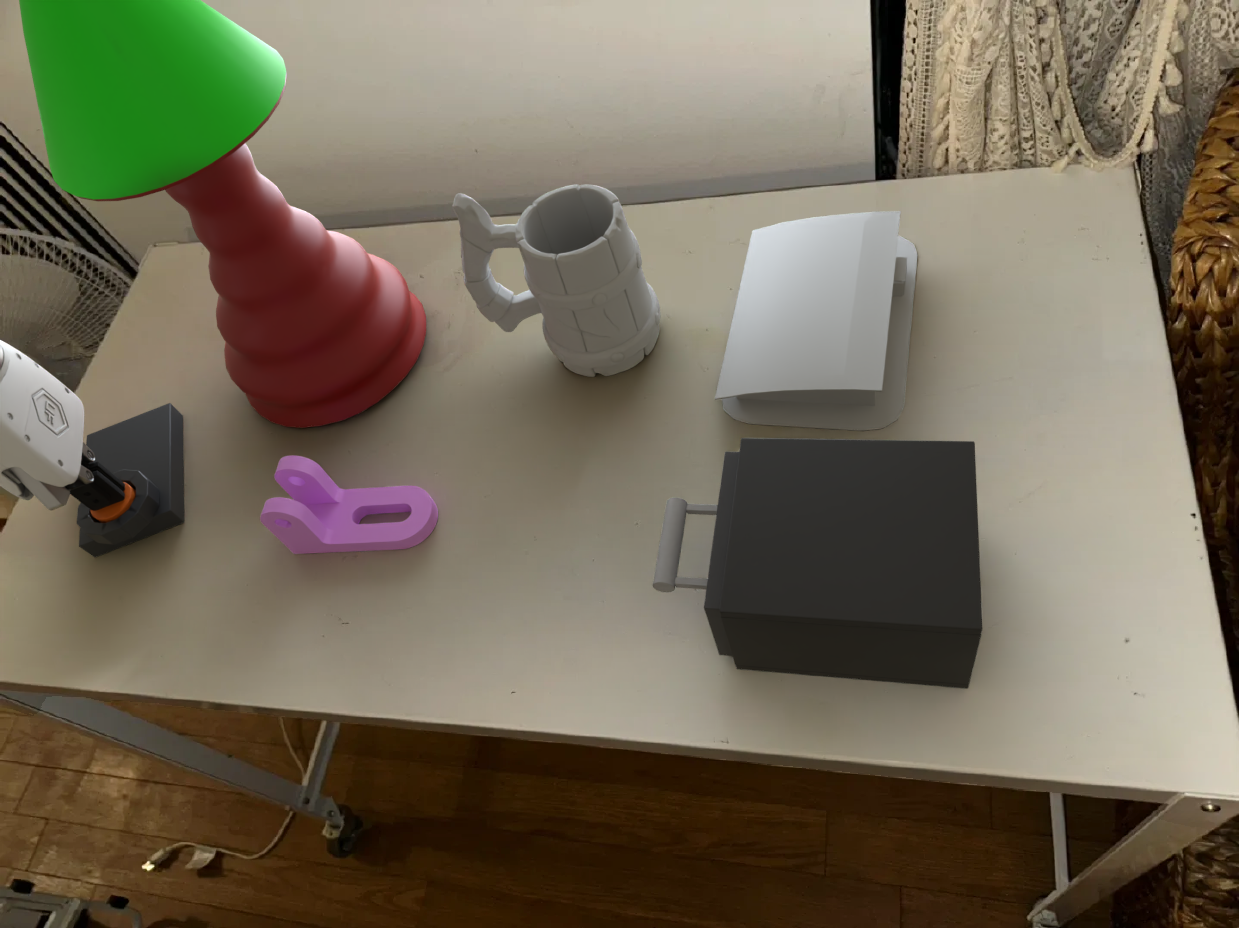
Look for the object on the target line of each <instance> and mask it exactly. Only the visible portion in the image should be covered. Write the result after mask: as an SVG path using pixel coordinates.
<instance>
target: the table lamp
mask: <svg viewBox="0 0 1239 928" xmlns="http://www.w3.org/2000/svg"><path fill="white" fill-rule="evenodd" d="M18 3H19V12H20V17H21V25H22V32H23V33H22V34H23V38H24V42H25V47H26V52H27V57H28V62H29V67H30V73H31V77H32V78H31V79H32V83H33V87H34V88H33V89H34V92H35V98H36V103H37V108H38V113H39V119H40V123H41V129H42V134H43V138H44V144H45V149H46V154H47V159H48V165H49V169H50V173H51V175H52V178H53V181H54V182H55V184H57V186H58V187H59V188H60V189H61V190H62V191H64V192H66V193H68V194H70V195H73V197H77V198H79V199H82V200H87V201H92V202H93V201H94V202H121V201H126V200H132V199H139V198H143V197H146V196H151V195H153V194H156V193H159V192H163V191H165V192H166V193H167V195H169V196H170V197H171V198H172V199H173V200H174V201H175V202H176V203H178V204H179V205H180V206H181V207H182V208H184V209H185V210H186V211H187V213H188V215H189V219H190V222H191V225H192V229H193V231H194V234H195V236H196V238H197V239H198V240H199V242H200V243H201V245H203V247H205V249H206V250H207V252H209V255H208V274H209V280H210V282H211V285H212V286H213V289H214V290H215V292H216V294H217V295H218V297H217V302H216V308H215V318H216V326H217V329H218V331H219V333H220V336H221V337H222V339H223V341H224V342H225V343H224V349H223V353H224V362H225V363H224V364H225V369H226V371H227V373H228V376H229V377H230V380H231V381H232V382H233V383H234V384H235V385H236V386H237V387H238V388H239V390H240V391H241V392H242V393H244V394H245V397H246V398H247V400H248V402H249V405H250V407H252V408H253V409H254V411H255V412H256V413H257V414H258V415H259V416H260V417H262V418H264V419H266V420H267V421H269V422H270V423H273V424H276V425H279V426H283V427H286V428H301V429H304V428H311V427H320V426H327V425H329V424H335V423H338V422H342V421H345V420H347V419H349V418H352V417H354V416H357V415H359V414H362V413H364V412H365V411H366V410H368V409H370V408H372V407H373V406H375V405H376V404H377V403H379V402H380V401H381V400H383V399H384V398H385V397H386V396H387V395H388V394H390V393H391V392H392V391H393V390H394V389H395V388H396V387H397V386H398V385H399V384H400V383H401V382H402V381H403V380H404V379H405V378H406V377H407V376H408V374H409V373H410V371H411V370H412V369H413V368H414V366H415V364H416V363H417V361H418V359H419V357H420V354H421V352H422V350H423V347H424V344H425V340H426V335H427V315H426V311H425V309H424V306H423V304H422V302H421V301H420V299H419V298H418V297H417V296H416V294H414V293H413V292H412V291H411V290H410V288H409V285H408V283H407V281H406V278H405V277H404V276H403V274H402V273H401V271H400V270H399V269H398V268H397V267H396V266H395V265H394V264H393V263H391V262H389V261H388V260H387V259H384V258H382V257H379V256H377V255H375V254H373V253H368V252H367V250H366V249H365V248H364V247H363V245H362V244H361V243H359V241H357V240H355V239H354V238H353V237H351V236H348V235H347V234H344V233H341V232H338V231H335V230H329V229H328V230H327V229H326V228H325V226H324V225H323V223H322V222H321V221H320V220H319V219H318V218H317V217H316V216H314V215H313V214H311V213H310V212H308V211H305V210H303V209H301V208H297V207H295V206H293V205H290V204H289V203H288V201H287V200H286V198H285V196H284V195H283V193H282V192H281V190H280V189H279V188H278V186H277V185H276V184H275V183H274V182H272V181H271V180H270V179H268V178H267V177H266V176H265V175H263V174H261V172H260V171H258V169H257V167H256V165H255V162H254V158H253V155H252V152H251V150H250V149H249V148H250V147H248V145H247V142H248V141H250V140H251V139H252V138H254V136H255V135H256V134H257V133H258V132H259V131H260V130H261V129H262V128H263V126H265V124H266V123H267V122H268V121H269V120H270V118H271V117H272V115H273V114H274V112H275V111H276V110H277V108H278V106H279V105H280V103H281V100H282V98H283V96H284V93H285V90H286V87H287V78H288V77H287V67H286V63H285V59H284V58H283V56H282V55H281V54H280V53H279V52H278V50H277V49H275V48H274V47H272V46H270V45H269V44H268V43H266V42H264V40H262V39H260V38H258V36H256V35H254V34H253V33H251V32H249V31H248V30H246V29H245V28H244V27H242V26H240V25H239V24H237V22H235V21H233V20H231V19H230V18H229V17H227V16H225V15H224V14H222V13H221V12H219V11H218V10H216V9H215V8H213V7H212V6H210V5H209V4H207V3H206V2H204V1H203V0H18Z"/></svg>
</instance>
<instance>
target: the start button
mask: <svg viewBox="0 0 1239 928" xmlns="http://www.w3.org/2000/svg"><path fill="white" fill-rule="evenodd" d="M123 483H125V482H123ZM123 492H124V493H125V499H124V500H123V501H120V502H117V503H115V504H112V505H110V506H107V507H105V508H102V509H100V510H97V511H93V510H91V509H90V510H91V514H92V516H93V517H94V518H96V519H97V520H98V521H100V522H101V523H107V522H110V521H112V520H115V519H117V518H119V517H120V516H121V515H122V514H123V513H124V512H126V511H127V510H128V509H129V508H130V506H131V504H132V502H133V501H134V499H135V497H136V490H135V489H133V488H132V487H131V486H130V485H129V484H127V483H125V490H124V491H123Z"/></svg>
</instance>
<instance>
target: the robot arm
mask: <svg viewBox="0 0 1239 928" xmlns="http://www.w3.org/2000/svg"><path fill="white" fill-rule="evenodd" d="M84 429H85V406H84V404H83V401H82V400H81V398H79V397H78V395H77V394H75V392H73V391H72V390H71V389H70V388H69V387H67V385H65V384H64V383H63V382H62V381H61V380H59V379H58V378H57V377H55V376H54V375H53V374H52V373H50V372H49V371H48V370H46V369H45V368H44V367H43V366H41V365H39V363H37V362H36V361H35V360H33V359H32V358H30V357H29V356H27V355H26V354H25V353H23V352H22V351H20V350H19V349H17V348H15V347H14V346H12V345H10V344H8V343H7V342H5V341H3V340H1V339H0V488H2V489H4V490H5V491H7V492H8V493H10V494H11V495H13V496H15V497H17V498H19V499H20V500H24V501H31V500H32V499H33V498H34V497H35V498H36V499H37V500H38V501H39V502H40V503H41V504H42V505H43V506H44V507H45V508H46V509H47V510H48V511H55V510H57V509H59V508H62V507H64V506H66V505H67V504H68V501H69V498H70V495H71V496H72V497H73V498H74V499H76V500H77V501H79V502H80V503H83V504H84V505H85V506H87V507H88V508H89V509H91V510H93V511H97V510H100V509H102V508H105V507H107V506H110V505H112V504H115V503H117V502H120V501H123V500H124V499H125V493H124V492H123V491H124V490H125V483H123V482H122V481H121V480H120V479H119V478H117V477H116V476H115V475H114V474H113V473H111V472H110V471H109V470H108V469H107V468H105V467H104V466H103V465H102V464H101V463H99V462H98V461H97V462H93V461H95V455H94V453H93V452H92V450H91V449H90V448H89V447H88V446H87V445H86V443H85V442H84Z"/></svg>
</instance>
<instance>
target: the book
mask: <svg viewBox="0 0 1239 928" xmlns="http://www.w3.org/2000/svg"><path fill="white" fill-rule="evenodd" d="M901 214H902V211H901V210H889V211H888V210H884V211H883V210H881V211H879V210H878V211H864V212H851V213H849V212H848V213H839V214H830V215H820V216H812V217H806V218H801V219H799V218H798V219H794V220H789V221H782V222H778V223H774V224H771V225H768V226H763V227H760V228H755V229H752V230H751V235H750V239H749V243H748V249H747V253H746V257H745V262H744V266H743V271H742V274H741V279H740V284H739V288H738V292H737V297H736V301H735V306H734V311H733V316H732V319H731V324H730V329H729V333H728V337H727V342H726V345H725V346H726V348H725V351H724V356H723V360H722V363H721V364H722V365H721V369H720V374H719V377H718V382H717V387H716V391H715V394H714V401H718V400H719V401H720V400H721V403H722V410H723V411H724V412H725V413H726V414H727V415H728V416H730V417H731V418H732V419H733V420H735V421H737V422H738V421H739V422H741V423H746V424H750V425H761V426H775V427H793V428H794V427H795V428H809V429H825V430H842V431H857V432H867V431H871V430H872V431H874V430H881V429H884V428H886V427H888V426H890V425H891V424H893V423H895V422H896V421H898V420H899V418H900V416H901V414H902V413H903V410H904V408H905V401H906V391H907V380H908V379H907V378H908V369H909V368H908V365H909V358H910V357H909V355H910V346H911V345H910V344H911V335H912V334H911V333H912V322H913V321H912V320H913V311H914V298H915V288H916V278H917V265H918V251H917V249H916V246H915V243H913V242H911V241H910V240H908V239H907V238H905V237H903V236H901V235H899V234H900V233H899V232H900V224H901Z"/></svg>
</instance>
